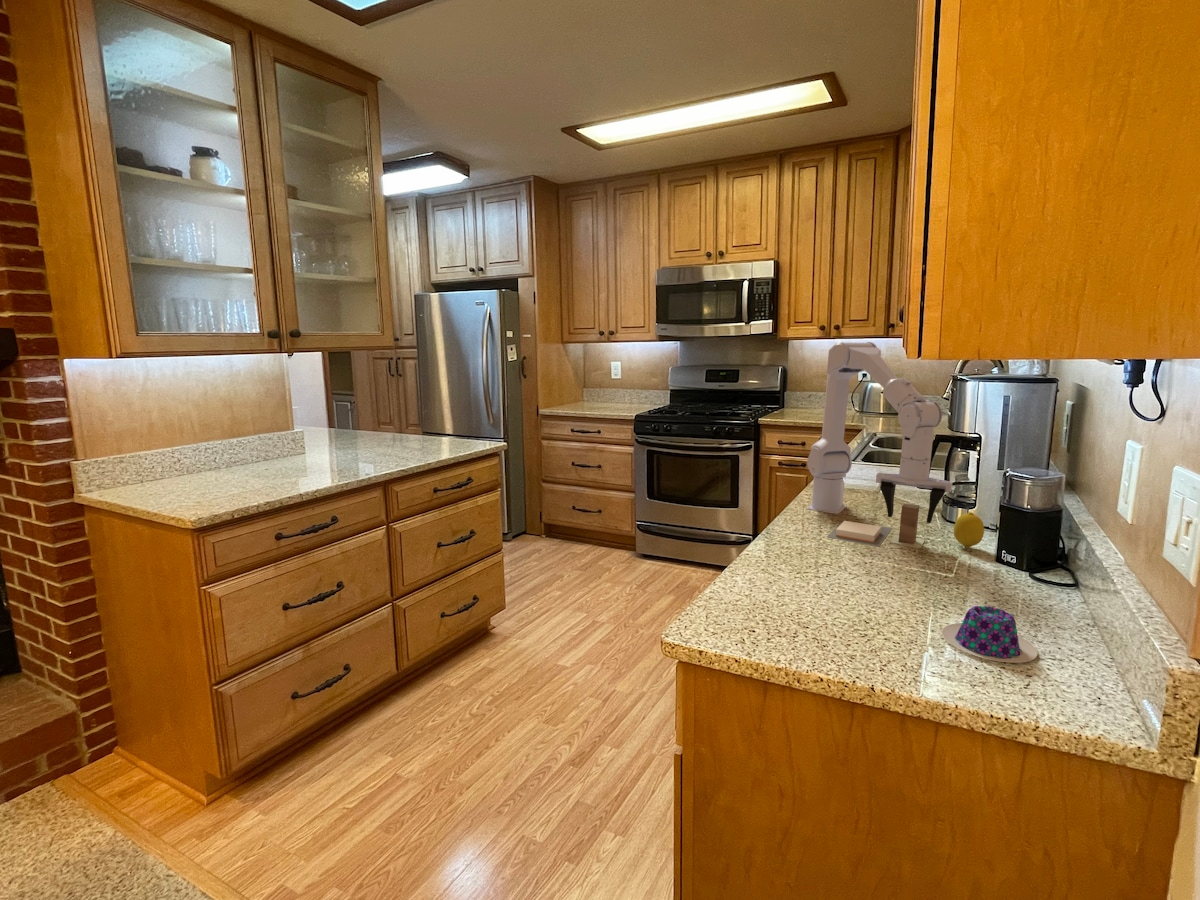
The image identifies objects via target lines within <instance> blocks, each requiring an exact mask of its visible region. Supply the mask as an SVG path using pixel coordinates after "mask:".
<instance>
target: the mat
mask: <svg viewBox="0 0 1200 900" xmlns="http://www.w3.org/2000/svg"><path fill="white" fill-rule="evenodd" d="M844 521H847V520H846V519H845V520H844V519H843V520H842V521H841V522H840V523H839V524H838V525H837V526H836V527H835V528H834V529H833V530H832V531H831V532H830V533H829V534H828V535H827V536H826V538H829V539H833V540H839V541H844V542H845V541H846V542H851V543H855V544H861V545H867V546H873V547H880V546H881V544H882V543H883V542H884V541H885V540H886V538H887V537H888V535H889V534H890V532H891V531H892V530H893V527H888V526H882V525H880V526H881V534H880V535H879V536H878V537H877V539H876V540H875V541H874V543H873V542H867V541H861V540H856V539H850V538H844V537H838V536H836V529H837V528H838V527H839V526H840V525H841V524H842V523H843V522H844ZM849 521H850V522H853V521H852V520H849ZM855 522H856V521H855ZM856 523H859V522H858V521H857V522H856ZM861 523H862V524H865V523H863V522H861ZM867 524H868V525H872V524H869V523H867ZM874 525H875V526H878V525H876V524H874Z"/></svg>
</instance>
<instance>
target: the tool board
mask: <svg viewBox="0 0 1200 900" xmlns="http://www.w3.org/2000/svg"><path fill="white" fill-rule="evenodd" d="M925 541H926V539H922V538H917V537H916V541H915V543H914V544H908V543H902V542H899V534H898V535H897V534H894V536H893V537H892V538H891V540H890V544H893V545H898V546H899V545H900V546H905V547H909V548H910V547H911V548H915V549H916V548H917V549H922V547H923V545H924V543H925Z"/></svg>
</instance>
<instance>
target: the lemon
mask: <svg viewBox="0 0 1200 900" xmlns="http://www.w3.org/2000/svg"><path fill="white" fill-rule="evenodd" d="M953 534H954V535H953V536H954V539H955V540H956V541H957V542H958V543H959V544H961V545H962V546H963V547H964V548H965V549H969V548H971V547H974V546H977V545H978V544H979V543H980V542H982V540H983V538H984V534H985V526H984V522H983V520H982V519H981V518H980V517H979V516H978V515H976V514H974V513H973V512H971V511H969V512H968V513H964V514H961V515H960V516H958V518H957V519H956V521H955V522H954V526H953Z"/></svg>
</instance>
